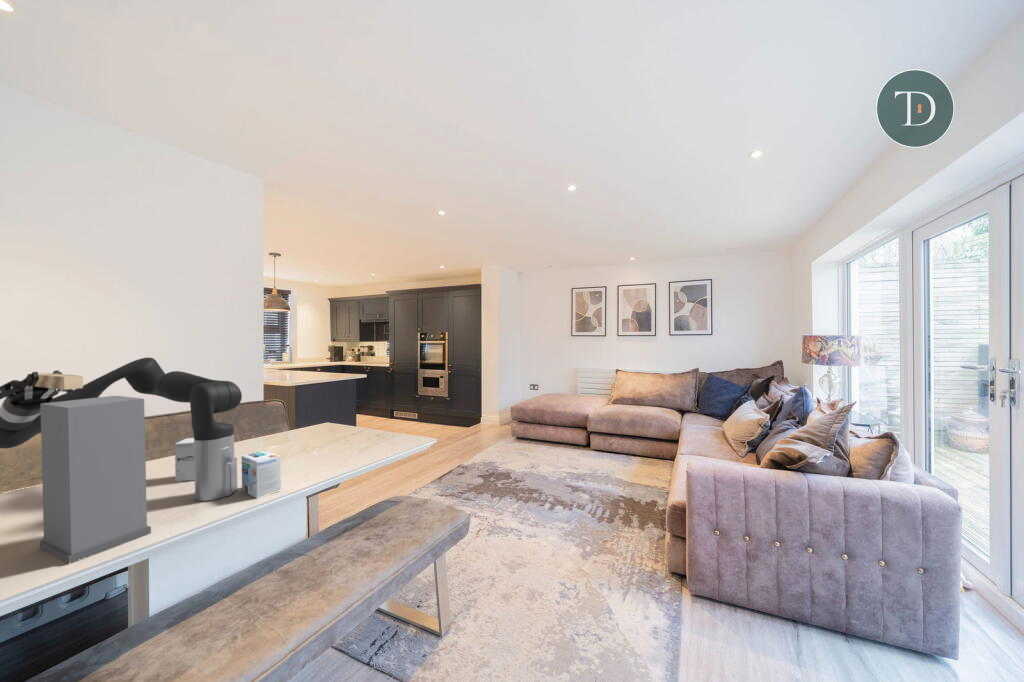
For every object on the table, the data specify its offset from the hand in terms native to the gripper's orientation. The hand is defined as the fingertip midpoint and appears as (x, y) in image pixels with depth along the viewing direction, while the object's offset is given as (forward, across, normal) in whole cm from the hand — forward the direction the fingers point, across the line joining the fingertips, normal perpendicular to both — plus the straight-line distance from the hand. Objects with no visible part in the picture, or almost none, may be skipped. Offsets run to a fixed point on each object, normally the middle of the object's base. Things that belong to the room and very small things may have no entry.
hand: (47, 374), depth 95 cm
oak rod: (+2, 0, +5) cm, 5 cm away
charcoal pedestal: (+4, 0, +45) cm, 45 cm away
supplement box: (-19, +31, +33) cm, 49 cm away
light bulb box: (+9, +32, +49) cm, 59 cm away
